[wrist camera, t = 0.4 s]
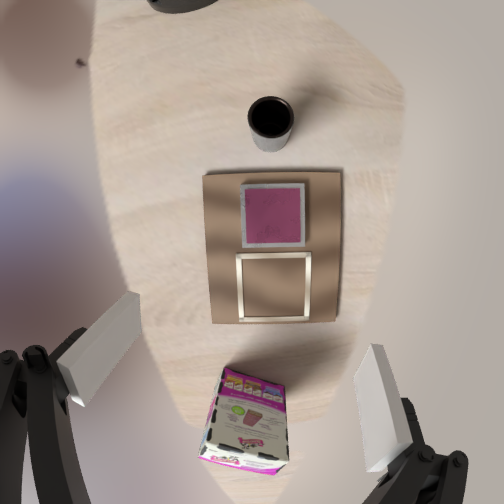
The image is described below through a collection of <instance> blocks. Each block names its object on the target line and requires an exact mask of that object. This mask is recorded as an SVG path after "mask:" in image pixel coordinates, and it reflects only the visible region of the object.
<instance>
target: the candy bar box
mask: <svg viewBox="0 0 504 504" xmlns="http://www.w3.org/2000/svg"><path fill="white" fill-rule="evenodd" d="M288 447H289V446H288V433H287V415H286V399H285V387H284V386H282V385H278V384H275V383H271V382H268V381H265V380H261V379H258V378H254V377H251V376H248V375H245V374H242V373H239V372H236V371H233V370H230V369H227V368H223V370H222V373H221V375H220V377H219V379H218V381H217V383H216V386H215V389H214V393H213V397H212V401H211V405H210V410H209V413H208V417H207V422H206V426H205V430H204V434H203V438H202V442H201V446H200V450H199V454H198V458H200V459H203V460H207V461H210V462H214V463H217V464H221V465H225V466H229V467H233V468H237V469H242V470H246V471H251V472H256V473H262V474H268V475H275V474H277V473H278V471H279V470H280V469H281V468H282V467H283V466H285V465H286V464H287V463H288V462H289V448H288Z"/></svg>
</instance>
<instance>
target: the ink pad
mask: <svg viewBox="0 0 504 504" xmlns="http://www.w3.org/2000/svg"><path fill="white" fill-rule="evenodd" d="M240 202H241V229H242V248H256V247H305V190H304V183H287V184H246V185H240Z"/></svg>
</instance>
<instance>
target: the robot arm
mask: <svg viewBox="0 0 504 504" xmlns="http://www.w3.org/2000/svg"><path fill="white" fill-rule="evenodd" d="M147 1H148V3H149V4H150V6H151V7H152V8H153V9H155V10H157V11H159V12H163V13H172V14H174V13H185V12H190V11H194V10H197V9H200V8H203V7H205V6H207V5H210V4H212V3H213V2H215V1H217V0H147ZM141 332H142V327H141V313H140V294H138V293H134V292H131V291H127V292H126V293H125V294H124V295H123V296H122V297H121V298H120V299H119V300H118V301H117V302H116V303H115V304H114V305H113V306H111V307H110V308H109V309H108V310H107V311H106V312H105V313H104V314H103V315H102V316H101V317H100V318H99V319H98V320H97V321H96V322H95V323H94V324H93V325H92V326H91V327H90V328H89V329H86V328H83V327H82V328H80V329H77V330H75V331H74V332H73V333H72V334H71V335H70V336H69V337H68V338H67V339H66V340H65V341H64V342H63V343H61V344H60V345H59V346H58V347H57V348H56V349H55V350H54V351H53V352H52V353H51V354H50V355H49V356H48V354H47V352H46V350H45V348H44V347H42V346H40V345H33V346H29V347H28V348H26V349H25V350H24V351H23V354H22V357H23V359H24V361H23V360H20V359H19V357H18V355H17V353H16V352H15V351H13V350H6V351H3V352H2V353H0V504H21V491H22V472H23V461H24V452H25V445H26V438H27V432H28V437H29V447H30V456H31V463H32V470H33V476H34V481H35V486H36V490H37V495H38V499H39V503H40V504H91V502H90V499H89V496H88V493H87V490H86V487H85V483H84V480H83V476H82V473H81V469H80V465H79V461H78V457H77V453H76V449H75V444H74V439H73V434H72V428H71V423H70V416H69V409H68V402H67V399H66V397H67V396H68V394H69V393H70V395H71V398H72V400H73V401H75V402H76V403H78V404H80V405H82V406H84V407H85V406H86V405H87V404H88V402H89V401H90V400H91V398H92V397H93V395H94V394H95V393H96V391H97V390H98V388H99V387H100V386H101V384H102V383H103V382H104V381H105V379H106V378H107V377H108V375H109V374H110V373H111V371H112V370H113V368H114V367H115V366H116V365H117V363H118V362H119V361H120V359H121V358H122V357H123V355H124V354H125V353H126V351H127V350H128V349H129V348H130V346H131V345H132V344H133V342H134V341H135V340H136V338H137V337H138V336H139V335H140V333H141ZM353 380H354V386H355V391H356V397H357V403H358V409H359V416H360V422H361V429H362V437H363V445H364V453H365V461H366V471H367V472H378V471H382V470H383V469H384V468H385V467H386V466H388V472H387V473H386V474H385V475H383V476H382V477H381V478H380V479H378V482H379V481H380V480H381V481H380V482H379V484H378V485H377V486H376V487H375V489H374V490H373V491H372V492H371V494H370V495H369V496H368V497H367V499H366V500H365V501H364V502H363V503H362V504H462V502H463V497H464V492H465V486H466V479H467V472H468V458H467V456H466V454H464V453H463V452H462V451H457V450H456V451H454V452H452V453H451V454H450V455H449V456H444V455H439V454H436V453H435V451H434V450H433V448H431V447H430V446H428V445H425V442H424V439H423V436H422V432H421V429H420V426H419V422H418V421H417V420H418V419H417V416H416V415H415V414H416V412H415V409H414V406H413V404H412V403H411V402H410V400H409V399H408V398H400V394H399V391H398V388H397V385H396V382H395V379H394V376H393V373H392V370H391V367H390V364H389V361H388V359H387V356H386V353H385V350H384V347H383V345H378V344H371V345H370V346H369V348H368V351H367V352H366V354H365V356H364V358H363V360H362V362H361V364H360V366H359V368H358V370H357V371H356V373H355V375H354V377H353Z"/></svg>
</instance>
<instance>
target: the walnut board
mask: <svg viewBox="0 0 504 504" xmlns="http://www.w3.org/2000/svg"><path fill="white" fill-rule="evenodd" d="M202 178H203V202H204V222H205V238H206V253H207V267H208V280H209V292H210V303H211V314H212V324H290V323H316V322H335V319H336V308H337V295H338V280H339V262H340V231H341V184H340V173H331V172H266V173H238V174H219V175H204V176H202ZM287 183H304V190H305V247H256V248H242V229H241V202H240V185H246V184H287Z"/></svg>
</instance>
